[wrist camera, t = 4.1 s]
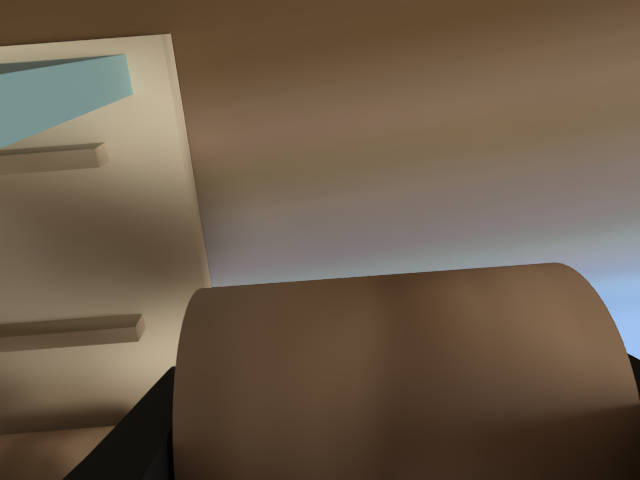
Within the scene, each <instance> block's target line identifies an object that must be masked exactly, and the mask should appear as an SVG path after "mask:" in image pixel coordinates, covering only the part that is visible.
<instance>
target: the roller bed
mask: <svg viewBox="0 0 640 480" xmlns="http://www.w3.org/2000/svg"><path fill="white" fill-rule="evenodd" d="M200 288H212V287H211V281H210V274H209V268H208V262H207V256H206V250H205V243H204V237H203V231H202V225H201V219H200V212H199V206H198V200H197V194H196V188H195V181H194V175H193V169H192V163H191V157H190V150H189V144H188V138H187V132H186V126H185V119H184V113H183V107H182V101H181V95H180V89H179V82H178V76H177V70H176V64H175V58H174V51H173V45H172V39H171V34H161V35H148V36H135V37H121V38H108V39H95V40H82V41H69V42H55V43H42V44H29V45H16V46H2V47H0V480H62V479H63V478H64V477H65V476H66V475H67V474H68V473H69V472H70V471H72V470H73V469H74V468H75V467H76V466H77V465H78V464H79V463H80V462H81V461H82V460H83V459H84V458H85V457H86V456H87V455H88V454H89V453H90V452H91V451H92V450H93V449H94V448H95V447H96V446H97V445H98V444H99V443H100V442H101V441H102V440H103V439H104V438H105V437H106V436H107V435H108V434H109V432H110V431H111V430H112V429H113V428H114V427H115V426H116V425H117V424H118V423H119V422H120V421H121V420H122V419H123V418H124V417H125V416H126V415H127V413H128V412H129V411H130V410H131V409H132V408H133V407H134V406H135V405H136V404H137V403H138V402H139V401H140V399H141V398H142V397H143V396H144V395H145V394H146V393H147V392H148V391H149V390H150V389H151V388H152V387H153V385H154V384H155V383H156V382H157V381H158V380H159V379H160V378H161V377H162V376H163V375H164V374H165V373H166V372H167V371H168V370H169V369H170V368H171V367H172V366H176V357H177V350H178V343H179V337H180V332H181V327H182V322H183V318H184V315H185V311H186V308H187V306H188V303H189V301H190V299H191V297H192V295H193V294H194V293H195V291H196V290H198V289H200Z"/></svg>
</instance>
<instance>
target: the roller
mask: <svg viewBox="0 0 640 480" xmlns="http://www.w3.org/2000/svg"><path fill="white" fill-rule="evenodd" d="M173 461H174V475H175V480H640V400H639V395H638V390H637V385H636V382H635V378H634V374H633V371H632V367H631V363H630V360H629V358H628V355H627V352H626V349H625V346H624V343H623V341H622V338H621V336H620V334H619V331H618V329H617V327H616V325H615V322H614V320H613V319H612V317H611V315H610V313H609V311H608V309H607V307H606V306H605V304H604V302H603V301H602V299H601V298H600V296H599V295H598V293H597V292H596V291H595V289H594V288H593V287H592V286H591V284H590V283H589V282H588V281H587V280H586V279H585V278H584V277H583V276H582V275H581V274H580V273H578V272H577V271H576V270H574V269H573V268H571V267H569V266H567V265H564V264H561V263H543V264H530V265H516V266H502V267H488V268H474V269H461V270H447V271H433V272H419V273H406V274H392V275H378V276H364V277H350V278H337V279H323V280H309V281H295V282H281V283H268V284H254V285H240V286H226V287H212V288H200V289H198V290H196V291H195V293H194V294H193V295H192V297H191V299H190V301H189V303H188V306H187V308H186V311H185V315H184V318H183V322H182V327H181V332H180V337H179V343H178V350H177V357H176V367H175V377H174V393H173Z"/></svg>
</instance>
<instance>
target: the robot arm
mask: <svg viewBox="0 0 640 480" xmlns="http://www.w3.org/2000/svg"><path fill="white" fill-rule="evenodd" d="M627 355H628V358H629V360H630V363H631V367H632V371H633V374H634V378H635V382H636V385H637V390H638V395H639V400H640V360H639V359H637V358H635V357H633V356H631V355H629V354H628V353H627ZM175 367H176V366H172V367H171V368H170V369H169V370H168V371H167V372H166V373H165V374H164V375H163V376H162V377H161V378H160V379H159V380H158V381H157V382H156V383H155V384H154V385H153V387H152V388H151V389H150V390H149V391H148V392H147V393H146V394H145V395H144V396H143V397H142V398H141V399H140V401H139V402H138V403H137V404H136V405H135V406H134V407H133V408H132V409H131V410H130V411H129V412H128V413H127V415H126V416H125V417H124V418H123V419H122V420H121V421H120V422H119V423H118V424H117V425H116V426H115V427H114V428H113V429H112V430H111V431H110V432H109V434H108V435H107V436H106V437H105V438H104V439H103V440H102V441H101V442H100V443H99V444H98V445H97V446H96V447H95V448H94V449H93V450H92V451H91V452H90V453H89V454H88V455H87V456H86V457H85V458H84V459H83V460H82V461H81V462H80V463H79V464H78V465H77V466H76V467H75V468H74V469H73V470H72V471H70V472H69V473H68V474H67V475H66V476H65V477H64V478H63V479H62V480H175V475H174V461H173V393H174V377H175Z"/></svg>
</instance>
